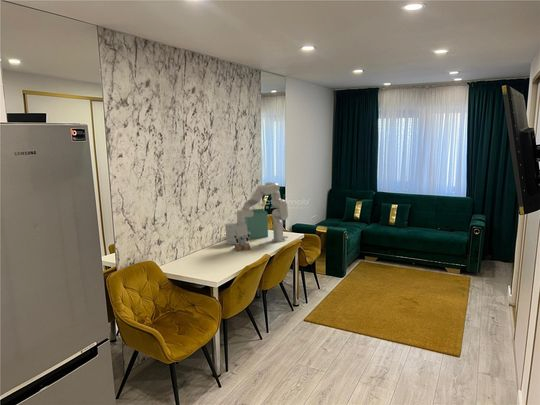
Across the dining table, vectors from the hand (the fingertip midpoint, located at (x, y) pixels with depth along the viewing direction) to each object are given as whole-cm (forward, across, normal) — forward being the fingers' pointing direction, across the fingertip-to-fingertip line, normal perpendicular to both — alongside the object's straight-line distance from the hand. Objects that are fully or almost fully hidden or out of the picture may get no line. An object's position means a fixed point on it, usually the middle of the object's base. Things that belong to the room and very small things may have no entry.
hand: (242, 242), depth 355 cm
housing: (+3, 0, 0) cm, 3 cm away
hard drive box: (+7, -3, +22) cm, 23 cm away
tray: (+7, 0, 0) cm, 7 cm away
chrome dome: (+7, +18, +1) cm, 19 cm away
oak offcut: (+7, +6, +9) cm, 13 cm away
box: (+7, +24, +45) cm, 51 cm away
